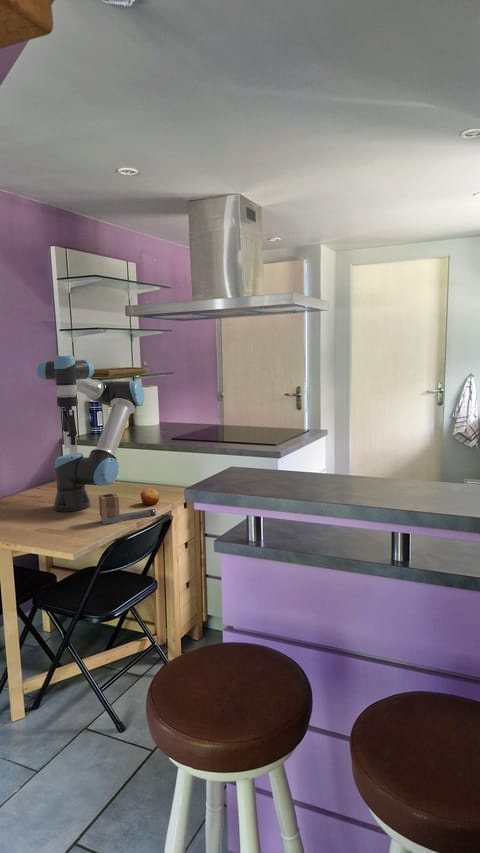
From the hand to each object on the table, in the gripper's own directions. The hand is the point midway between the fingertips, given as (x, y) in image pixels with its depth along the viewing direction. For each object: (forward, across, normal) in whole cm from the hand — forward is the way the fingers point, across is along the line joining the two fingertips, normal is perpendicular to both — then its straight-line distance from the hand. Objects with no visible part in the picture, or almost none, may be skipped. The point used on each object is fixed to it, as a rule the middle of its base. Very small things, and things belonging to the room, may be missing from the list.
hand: (70, 450), depth 210 cm
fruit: (+29, -9, +33) cm, 45 cm away
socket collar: (+26, +7, +12) cm, 30 cm away
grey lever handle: (+29, +7, +20) cm, 36 cm away
